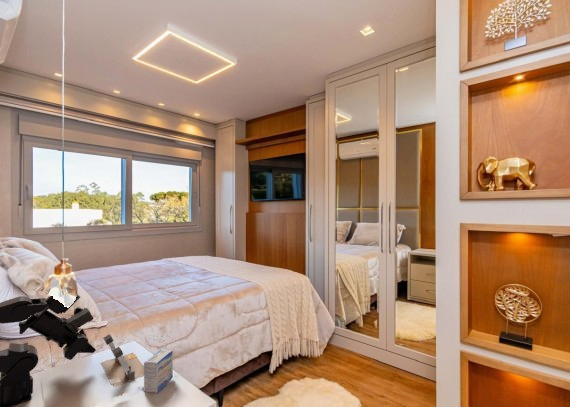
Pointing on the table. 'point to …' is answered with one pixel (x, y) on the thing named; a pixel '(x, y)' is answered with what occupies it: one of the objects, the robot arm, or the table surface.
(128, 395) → the table surface
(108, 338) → the far lever
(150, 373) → the medicine box
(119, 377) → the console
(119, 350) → the near lever
